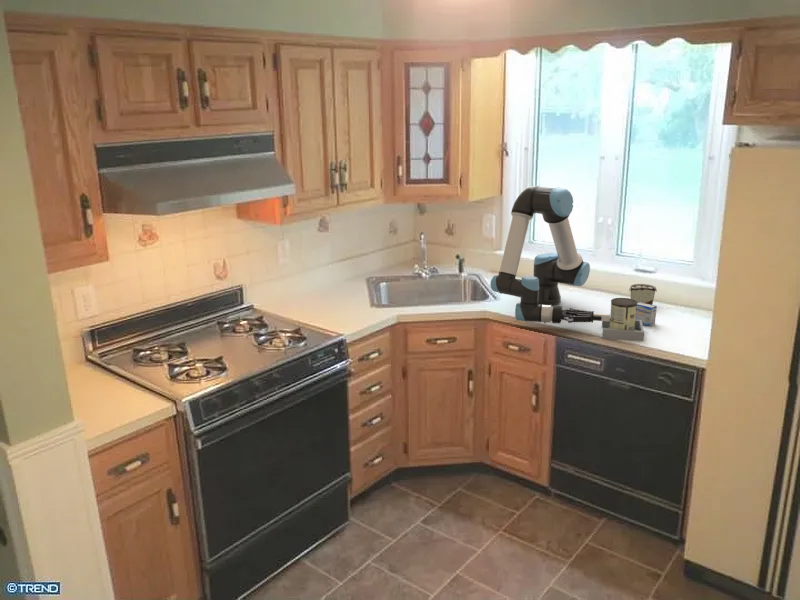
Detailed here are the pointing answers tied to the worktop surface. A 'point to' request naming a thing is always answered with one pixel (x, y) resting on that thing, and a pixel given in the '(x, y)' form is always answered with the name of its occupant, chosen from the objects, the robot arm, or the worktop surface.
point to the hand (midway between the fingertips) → (609, 318)
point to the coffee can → (623, 314)
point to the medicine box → (646, 313)
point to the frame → (624, 332)
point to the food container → (643, 293)
